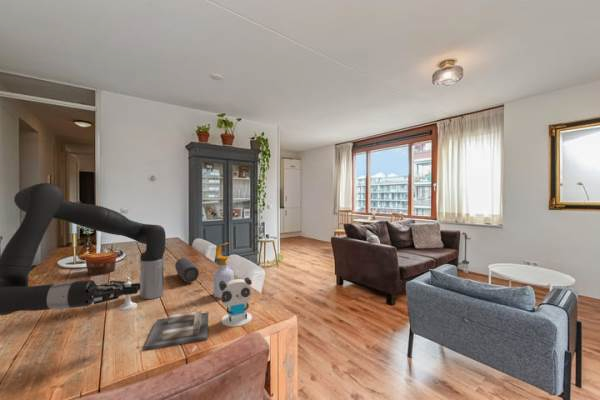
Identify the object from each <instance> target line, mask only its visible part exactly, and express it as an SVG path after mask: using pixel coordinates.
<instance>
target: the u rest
mask: <svg viewBox="0 0 600 400" xmlns="http://www.w3.org/2000/svg"><path fill="white" fill-rule="evenodd" d="M208 328H209V312H202V310H200V311H192V312H184V313H177V314H169V315H168V317H164V318H157V319H156V321H155V323H154V325H153V327H152V329H151V331H150V334H149V336H148V338H147V341H146V343H145V345H144V350H145V351H147V350H153V349H154V350H155V349H159V348H165V347H171V346H178V345H182V344H188V343H194V342H201V341H206V340H208V332H209V331H208V330H209V329H208Z"/></svg>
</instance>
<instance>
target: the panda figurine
mask: <svg viewBox="0 0 600 400" xmlns="http://www.w3.org/2000/svg"><path fill="white" fill-rule="evenodd" d="M250 285H252V280H251V279H250V277H245V278H244V279H241V278H237V279H235V278H234V280H231V281H228V282H227V283H225V281H221V282H220V283H219V287H220V290H221V292H220V297H221V298H220V300H221V303H222V305H223V306H225V307H226V313H227V314H224V315H223V317H222V318H221V319H220V320H221V324H222V325H224V326H226V327H231V328H233V327H241V326H245V325H247V324H249V323H250V322H251V321H252V320H253V315H252V314H251V313H250V312H248V309H249V306H250V305H249V303H248V302H249V301H250V299H251V298H252V290H251V289H252V288H251V287H250Z"/></svg>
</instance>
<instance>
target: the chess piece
mask: <svg viewBox="0 0 600 400" xmlns="http://www.w3.org/2000/svg"><path fill="white" fill-rule="evenodd" d="M123 281H125V283H124V286H125V287H130V286H131V284H133V283H132V282H131V281H132V278H130V276H126V278H124V280H123ZM124 299H125V300H124V303H122V304H121V305H120V306H118V311H119V312H123V313H124V312H130V311H132V310H135V309H136V308H137V307H138V304H137V303H136V302H134V301H132V300H131V299H132V298H131V294H128V295H125V298H124Z"/></svg>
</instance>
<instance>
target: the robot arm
mask: <svg viewBox="0 0 600 400" xmlns="http://www.w3.org/2000/svg"><path fill="white" fill-rule="evenodd" d="M13 200H14V204H15V205H16V207H18V209H20V210H21V211H22V212H24V213H25V216H23V217H24V218H23V220H22V222H21V224H20V225H19V227H18V228H17V230H16V231H15V233H14V234H13V235H12V236H11V238H10V239H9V241H8V242H7V243H6V245H5V247H4V248H3V250H2V252H1V255H0V316H6V315H10V314H13V313H15V312H23V311H27V312H28V311H29V312H33V311H35V312H36V311H38V312H39V311H44V310H45V311H47V310H63V309H73V308H81V307H82V308H84V307H89V306H91V305H92V304H94V305H97V304H101V303H105V302H109V301H112V300H117V299H119V297H123V296H126V295H128V294H130V295H136V294H138V293H139V296H140V298H141V299H142V300H152V299H157V298H160V297H162V296H163V295H164V292H165V291H164V289H165V288H164V286H165V285H164V254H165V252H166V230H165V228H164V227H163V226H161V225H160V224H159V225H158V224H149V223H148V224H147V223H141V222H138V221H134V220H132V219H130V218H128V217H126V216H125V215H123V214H122V213H120V212H118V211H116V210H113V209H110V208H107V207H104V206H102V205H101V206H100V205H96V204H88V203H81V202H76V201H75V202H74V201H71V200H68V199H64V192H63V191H62V189H61V188H60V187H59V186H57V185H55V184H53V183H50V182H42V183H41V182H40V183H36V184H34V185H30V186H27V187H26V188H25V187H24V188H22V189H21V190H19V191H18V192H17V193H16V194H15V195H14V199H13ZM53 219H57V220H61V221H64V222H68V223H70V224H71V223H72V224H74V225H77V226H81V227H84V228H88V229H90V230H95V231H98V232H101V233H105V234H110V235H114V236H115V235H116V236H122V237H126V238H128V239H131V240H133V241H136V242H139V243H140V244H144V245H145V246H146V247H145V251H144V252H141V254H140V256H139V257H140V262H139V263H140V275H139V282H136V283H131V286H130V287H125V286H124V283H125V282H126V280H123V281H121V280H110V281H109V283H108V282H105V283H104V282H103V283H100V284H98V285H97V284H96V282H95V280H93V279H89V280H88V279H87V280H86V279H85V280H77V281H76V280H75V281H74V280H73V281H62V282H59V283H50V284H41V285H40V284H39V285H31V286H29V273H30V271H31V268H32V266H33V264H34V261H35V258H36V255H37V252H38V250H39V247H40V245H41V243H42V240H43V239H44V236H45V234H46V231H47V230H48V228H49V226H50V224H51V222H52V221H53Z"/></svg>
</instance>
